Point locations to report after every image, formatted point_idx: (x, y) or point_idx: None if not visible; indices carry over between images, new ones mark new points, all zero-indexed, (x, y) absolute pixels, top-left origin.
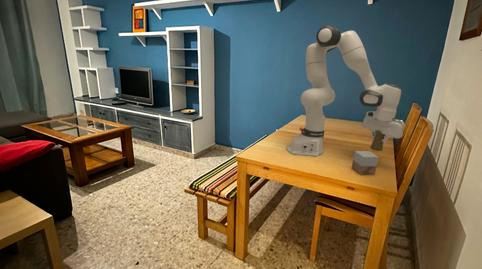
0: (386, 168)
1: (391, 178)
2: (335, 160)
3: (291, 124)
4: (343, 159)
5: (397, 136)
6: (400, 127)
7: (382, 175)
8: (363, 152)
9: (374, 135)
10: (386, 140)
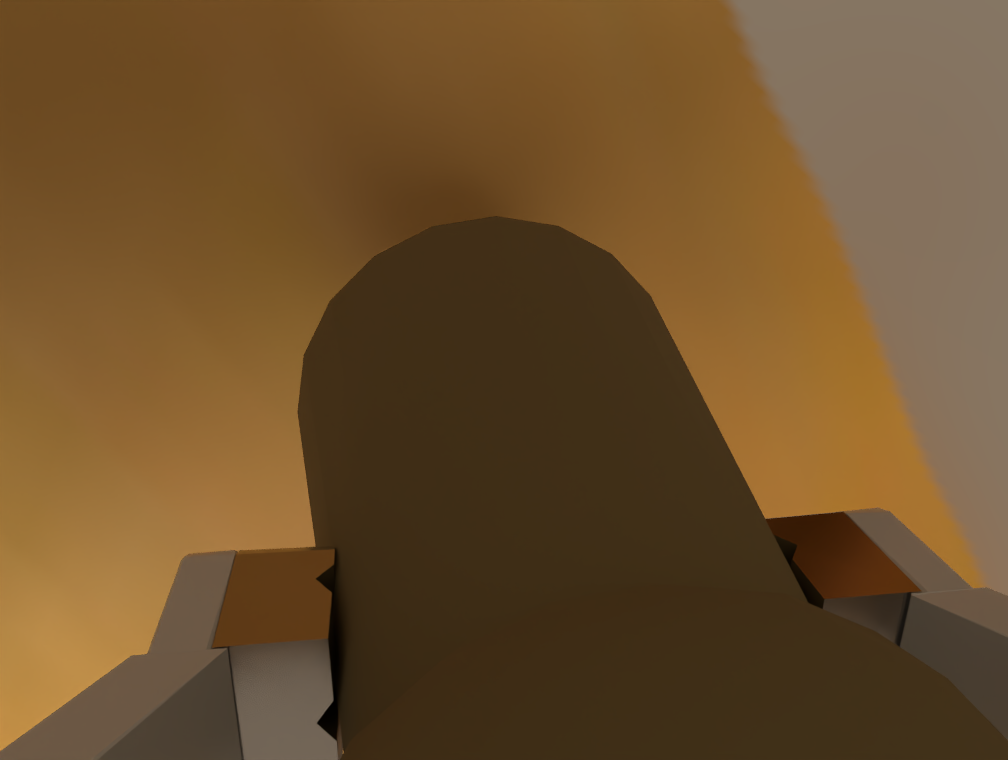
0: (710, 169)
1: (928, 481)
2: (14, 715)
3: None
4: (19, 561)
5: None
6: None
7: (797, 511)
8: None
9: (228, 687)
10: (941, 566)
